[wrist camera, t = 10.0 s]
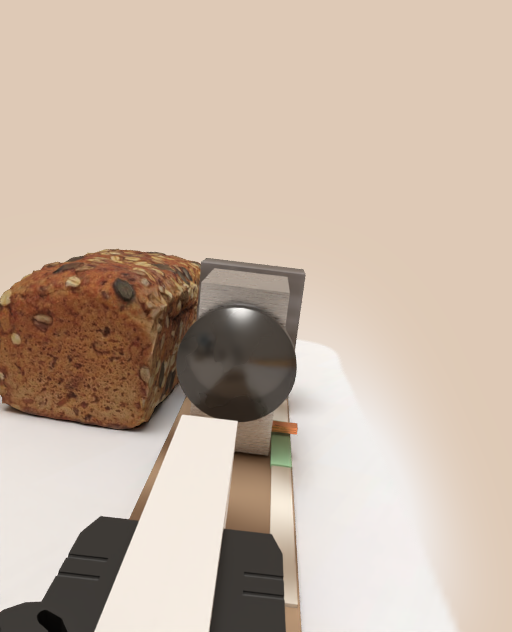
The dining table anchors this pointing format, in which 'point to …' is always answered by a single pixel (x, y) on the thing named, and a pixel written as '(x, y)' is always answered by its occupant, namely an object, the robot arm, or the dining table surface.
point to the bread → (97, 336)
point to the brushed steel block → (240, 355)
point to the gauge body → (258, 460)
